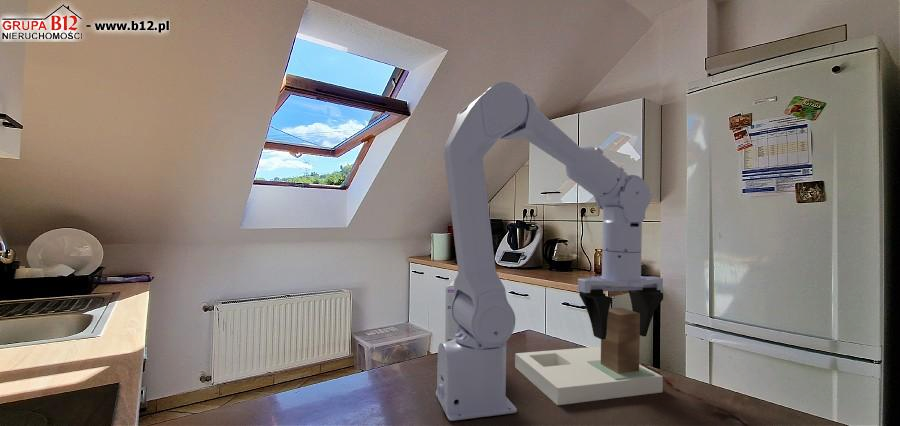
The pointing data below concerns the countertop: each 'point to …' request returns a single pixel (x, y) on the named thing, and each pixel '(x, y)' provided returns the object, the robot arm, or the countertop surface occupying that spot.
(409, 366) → the countertop surface
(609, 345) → the walnut block
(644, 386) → the board
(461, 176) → the robot arm
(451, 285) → the syrup box
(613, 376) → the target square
